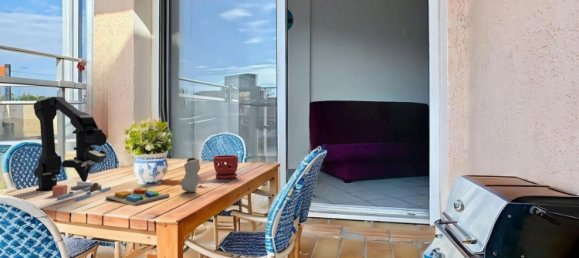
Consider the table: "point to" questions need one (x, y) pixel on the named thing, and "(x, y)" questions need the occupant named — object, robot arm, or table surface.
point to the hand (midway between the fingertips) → (84, 181)
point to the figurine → (191, 175)
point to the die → (59, 190)
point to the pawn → (95, 187)
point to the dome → (84, 183)
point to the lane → (83, 192)
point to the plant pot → (226, 166)
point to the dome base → (78, 187)
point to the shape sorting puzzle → (137, 196)
